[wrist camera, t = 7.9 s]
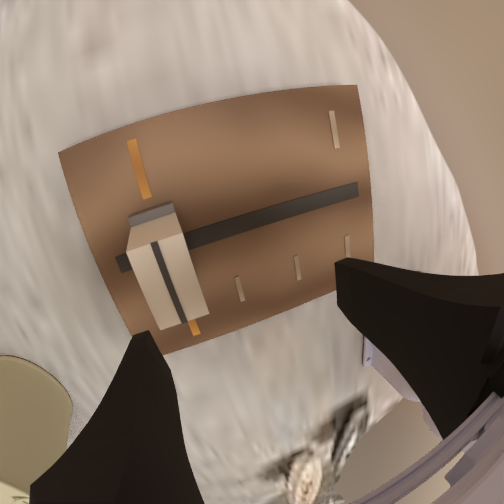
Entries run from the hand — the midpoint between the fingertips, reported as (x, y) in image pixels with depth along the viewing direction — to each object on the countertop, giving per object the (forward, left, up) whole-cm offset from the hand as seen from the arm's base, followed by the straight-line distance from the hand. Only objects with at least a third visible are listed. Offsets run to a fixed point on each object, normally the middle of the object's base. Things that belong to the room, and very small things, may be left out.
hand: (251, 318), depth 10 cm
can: (-8, +20, -10) cm, 24 cm away
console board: (+1, -2, -9) cm, 10 cm away
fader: (+1, +3, -7) cm, 7 cm away
